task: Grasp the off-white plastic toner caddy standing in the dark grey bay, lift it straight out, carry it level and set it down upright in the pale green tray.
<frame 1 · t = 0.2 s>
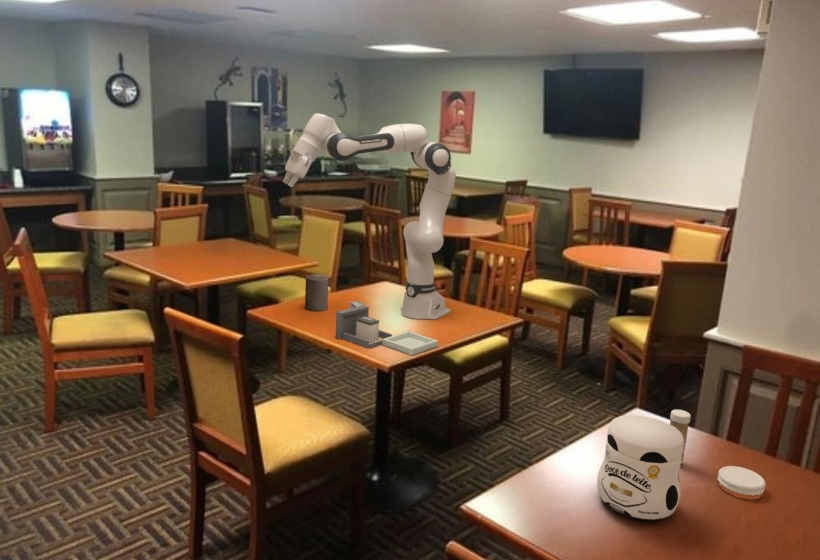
hand: (287, 184, 249), 54 cm above the table, tool tilted 30°, fingers open, 8 cm apart
tray: (409, 346, 242), on the table
doce de leite jar: (635, 505, 147), on the table
white round piece: (739, 490, 156), on the table
medicine box: (357, 325, 263), on the table
sprinkles bottle: (673, 462, 167), on the table
bay: (367, 339, 246), on the table
pillar candle: (316, 308, 283), on the table
caddy: (367, 340, 246), resting in bay
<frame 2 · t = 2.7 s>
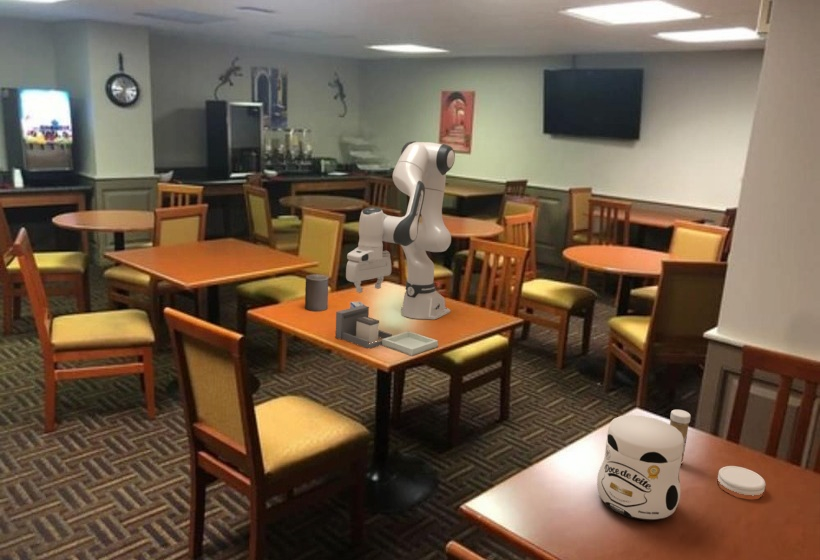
hand: (368, 290, 241), 19 cm above the table, tool pointing down, fingers open, 8 cm apart
nothing on the table moved.
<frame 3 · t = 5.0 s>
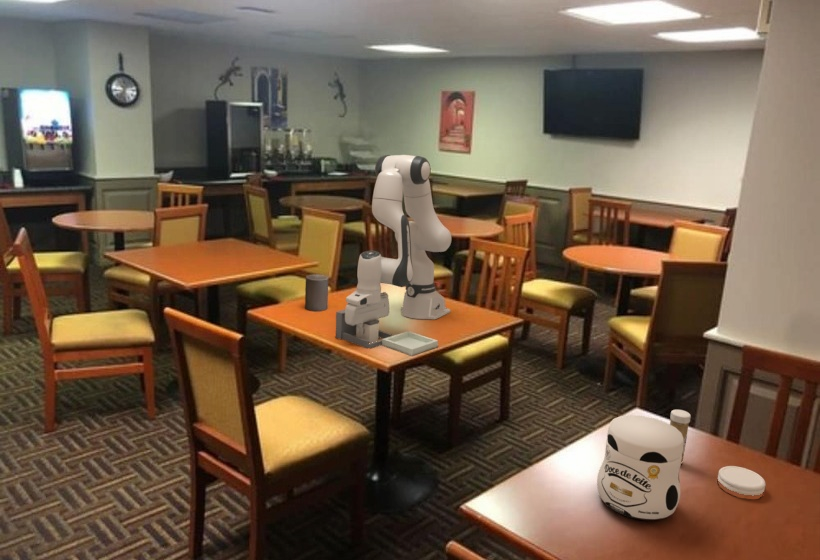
hand: (367, 331, 245), 3 cm above the table, tool pointing down, fingers closed on caddy, 4 cm apart
caddy: (367, 339, 246), resting in bay, touching gripper
everything else where it was.
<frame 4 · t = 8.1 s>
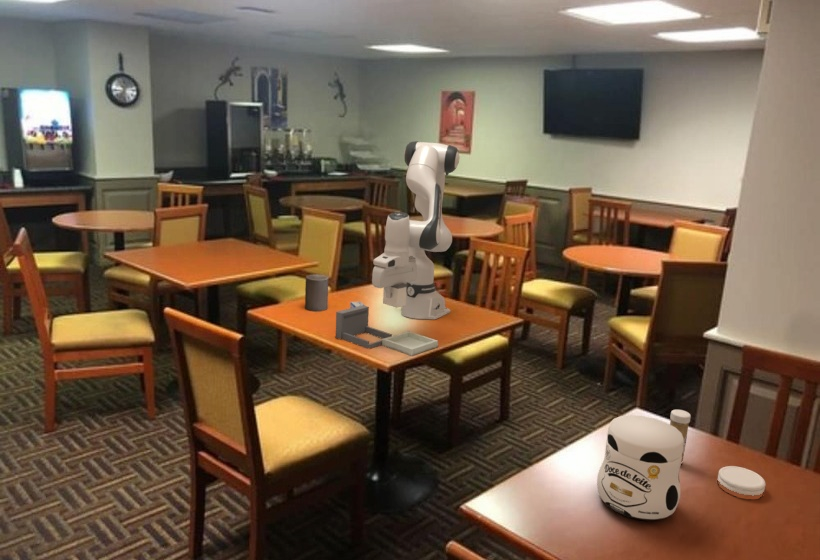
hand: (394, 296, 239), 18 cm above the table, tool pointing down, fingers closed on caddy, 4 cm apart
caddy: (394, 304, 240), point 15 cm above the table, touching gripper
everything else where it was.
when the fingers open (5 cm above the table, at t = 11.5 s): caddy stays where it is, resting on tray.
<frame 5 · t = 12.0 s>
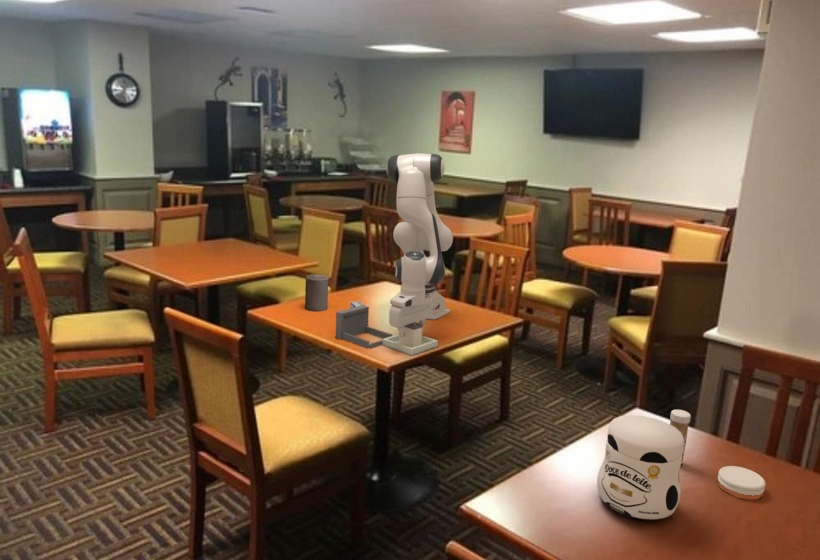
hand: (410, 334, 241), 5 cm above the table, tool pointing down, fingers open, 8 cm apart
caddy: (410, 344, 242), point 1 cm above the table, touching tray
everything else where it was.
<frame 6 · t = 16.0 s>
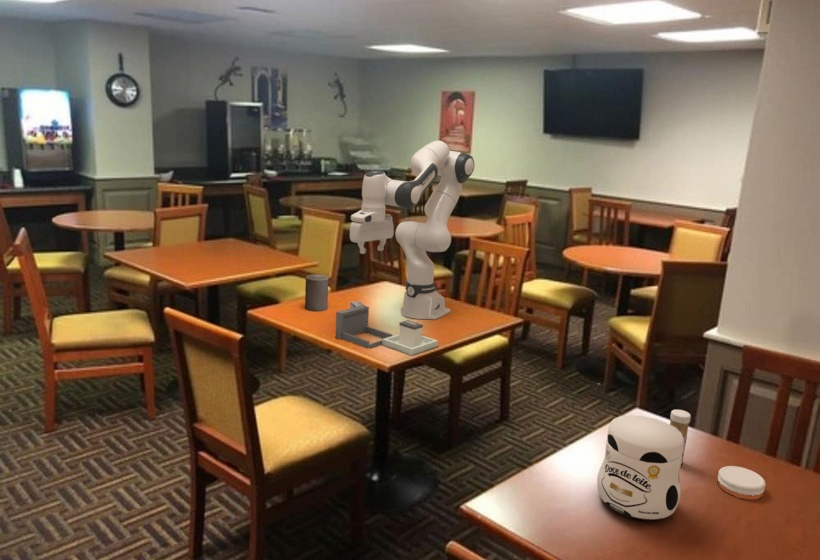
hand: (371, 252, 249), 31 cm above the table, tool pointing down, fingers open, 8 cm apart
nothing on the table moved.
at the end: caddy inside the target area on the tray (0.0 cm from its centre), point 0.6 cm above the tray's base; caddy tilted 0°; the gripper is holding nothing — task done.
